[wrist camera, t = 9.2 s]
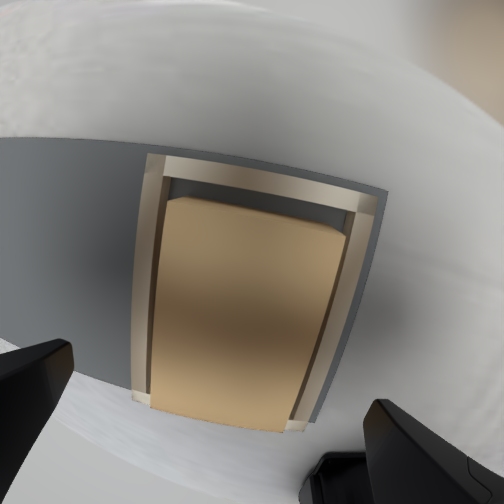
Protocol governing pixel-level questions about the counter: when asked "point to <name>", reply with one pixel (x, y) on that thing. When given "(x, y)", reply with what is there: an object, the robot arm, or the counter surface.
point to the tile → (238, 310)
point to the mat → (112, 242)
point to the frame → (263, 181)
